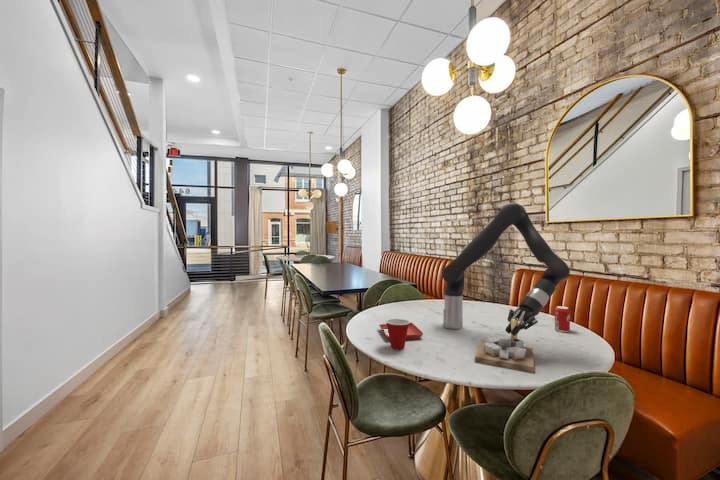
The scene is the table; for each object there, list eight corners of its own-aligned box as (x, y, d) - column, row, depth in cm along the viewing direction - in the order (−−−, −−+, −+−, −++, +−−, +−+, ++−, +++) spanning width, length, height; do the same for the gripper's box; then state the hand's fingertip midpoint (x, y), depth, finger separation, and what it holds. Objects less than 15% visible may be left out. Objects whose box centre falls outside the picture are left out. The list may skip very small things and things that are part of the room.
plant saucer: (386, 343, 138) (386, 335, 138) (378, 330, 156) (378, 324, 156) (424, 340, 141) (424, 333, 141) (411, 328, 159) (411, 322, 158)
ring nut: (503, 361, 111) (503, 351, 111) (476, 347, 125) (476, 337, 125) (535, 356, 116) (535, 346, 115) (505, 342, 130) (505, 333, 130)
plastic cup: (412, 344, 135) (411, 318, 135) (407, 353, 125) (407, 325, 125) (388, 341, 139) (388, 316, 138) (382, 350, 129) (382, 322, 128)
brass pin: (510, 349, 122) (511, 319, 122) (510, 347, 124) (510, 318, 124) (517, 349, 121) (517, 320, 121) (516, 348, 123) (517, 318, 123)
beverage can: (572, 333, 147) (572, 309, 147) (558, 332, 149) (558, 308, 148) (566, 329, 154) (566, 306, 153) (552, 328, 155) (552, 305, 155)
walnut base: (474, 361, 117) (474, 345, 116) (481, 344, 134) (481, 329, 134) (533, 372, 107) (534, 354, 107) (532, 352, 125) (532, 337, 125)
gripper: (516, 292, 131) (492, 322, 128) (543, 298, 117) (516, 332, 114) (526, 303, 132) (503, 333, 129) (554, 311, 118) (528, 345, 116)
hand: (509, 333), depth 122 cm, fingers closed on brass pin, 2 cm apart
